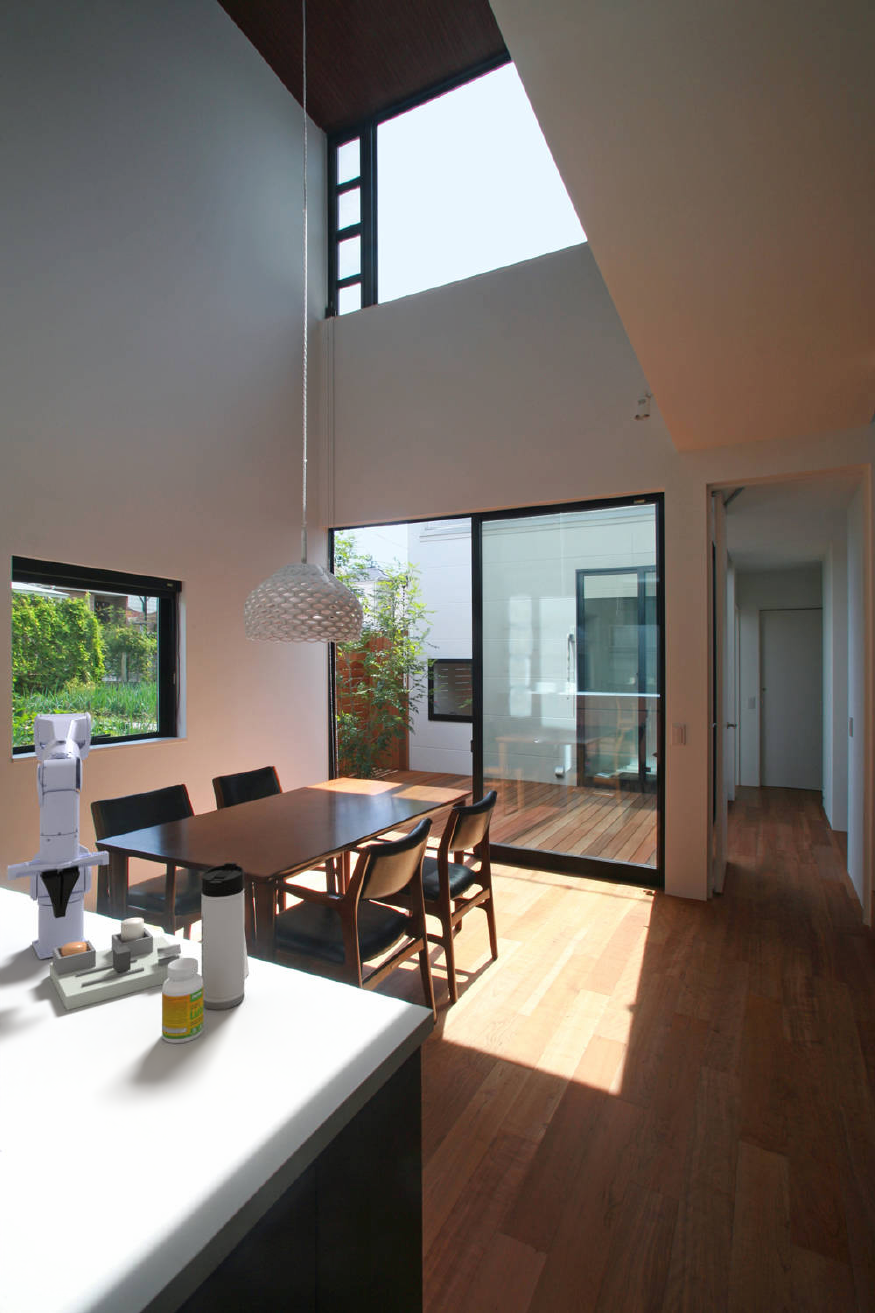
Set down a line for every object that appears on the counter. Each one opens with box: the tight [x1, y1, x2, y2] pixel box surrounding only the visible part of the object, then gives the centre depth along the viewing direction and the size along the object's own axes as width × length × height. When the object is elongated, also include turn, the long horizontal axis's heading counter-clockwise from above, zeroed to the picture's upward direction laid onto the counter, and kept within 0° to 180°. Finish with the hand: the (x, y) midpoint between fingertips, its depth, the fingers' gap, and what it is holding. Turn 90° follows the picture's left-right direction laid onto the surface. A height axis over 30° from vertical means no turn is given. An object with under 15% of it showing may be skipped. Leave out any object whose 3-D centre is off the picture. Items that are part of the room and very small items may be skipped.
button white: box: [120, 917, 145, 943], centre depth 118 cm, size 4×4×3 cm
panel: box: [49, 927, 184, 1011], centre depth 113 cm, size 15×18×5 cm
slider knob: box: [113, 946, 131, 973], centre depth 110 cm, size 3×2×3 cm
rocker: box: [157, 943, 182, 957], centre depth 113 cm, size 4×3×1 cm, turn 38°
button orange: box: [62, 941, 86, 957], centre depth 112 cm, size 4×4×3 cm
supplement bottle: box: [161, 957, 204, 1044], centre depth 94 cm, size 5×5×10 cm
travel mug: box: [200, 862, 245, 1011], centre depth 104 cm, size 6×7×20 cm
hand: (59, 916), depth 111 cm, fingers closed
